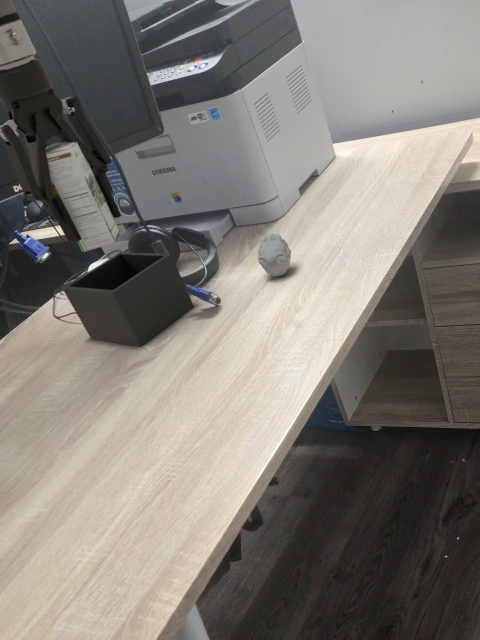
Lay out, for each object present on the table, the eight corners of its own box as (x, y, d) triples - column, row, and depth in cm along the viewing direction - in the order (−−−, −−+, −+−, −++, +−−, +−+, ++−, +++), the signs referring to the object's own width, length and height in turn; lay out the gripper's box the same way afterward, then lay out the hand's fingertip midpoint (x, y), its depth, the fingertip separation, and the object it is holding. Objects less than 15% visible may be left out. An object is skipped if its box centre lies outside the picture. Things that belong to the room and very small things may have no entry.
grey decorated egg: (299, 263, 121) (288, 225, 116) (292, 280, 116) (279, 241, 111) (269, 268, 122) (256, 231, 118) (260, 285, 117) (247, 247, 113)
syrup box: (88, 241, 109) (40, 147, 99) (122, 231, 109) (76, 137, 99) (82, 253, 105) (31, 157, 95) (117, 243, 105) (69, 145, 95)
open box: (91, 339, 116) (61, 288, 110) (144, 301, 124) (120, 251, 117) (140, 346, 109) (112, 292, 103) (194, 306, 117) (171, 253, 110)
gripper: (-38, 85, 83) (59, 258, 98) (85, 40, 94) (155, 201, 109) (-67, 91, 86) (30, 256, 102) (55, 47, 98) (126, 202, 113)
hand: (95, 227), depth 105 cm, fingers closed on syrup box, 8 cm apart
